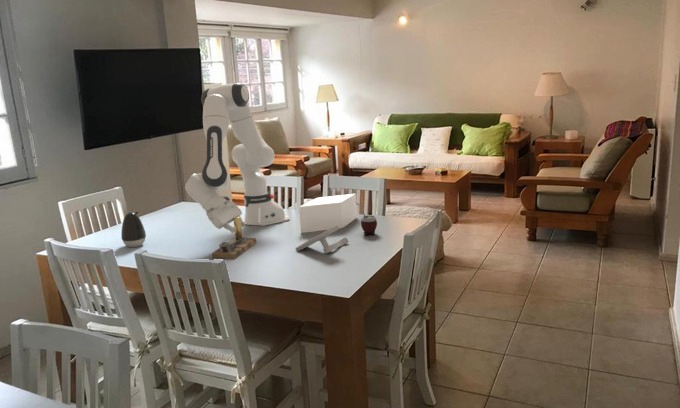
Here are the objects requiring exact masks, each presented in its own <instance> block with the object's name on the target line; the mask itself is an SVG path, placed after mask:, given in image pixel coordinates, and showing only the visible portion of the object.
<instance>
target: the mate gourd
mask: <svg viewBox="0 0 680 408" xmlns="http://www.w3.org/2000/svg"><path fill="white" fill-rule="evenodd" d="M355 203H356V205H358V206H359V208H360V209H361V212H362V214H363V215H362V218H361V221H360V225H361V228H362V230H363V234H364V235H363V236H364V237H367V236H376V233H375V232H376V229H377V226H378V221H377V217H375V216H374V215H371V214H370V215H366V214H365V211H364V209H363V207H362V205H361V204H360V203H358V202H357V201H356V202H355Z"/></svg>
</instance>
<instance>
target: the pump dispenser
mask: <svg viewBox="0 0 680 408" xmlns="http://www.w3.org/2000/svg"><path fill="white" fill-rule="evenodd" d="M138 214H139V211H135V212H132V211H131V212H127V213H126V214H125V215H124V218H123V220H122V226H121V240H122V243H123V244H124V245H125V246H126V247H129V248H137V247H140V246H142V245H143V244H144V243H145V241H146V238H147V233H146V230H145V227H144V224H143V221H142V220H141V219H140V217H139V215H138Z"/></svg>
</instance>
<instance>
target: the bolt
mask: <svg viewBox="0 0 680 408" xmlns="http://www.w3.org/2000/svg"><path fill="white" fill-rule="evenodd" d="M233 219H234V221H233V225H234V226H233V227H234V228H235V229H236V231H235V232H234V238H235V240H233V241H232V242H234V246H235V245H236V244H237V243H239V242H240V241H242V240H243V239H244V238H245V236H244V235H243V230H242V227H241V219H242V217H241V216H240V217H234V218H233Z"/></svg>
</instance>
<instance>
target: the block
mask: <svg viewBox="0 0 680 408" xmlns="http://www.w3.org/2000/svg"><path fill="white" fill-rule="evenodd" d="M355 202H356V203H357V193H349V194H340V195H339V194H338V195H331V196H330V195H329V196H328V195H327V196H320V197H316V198H313V199H312V200H309V201H308V202H306V203H304V204H302V205H300V206H299V207H298V208H299V221H300V222H299V223H300V233H301V234H303V233H312V232H319V231H320V232H321V231H326V230H328V229H330V228H332V227H334V226H337V225H338V227H339V229H343V228H345V227H346V226H347V225H349V224H350V223H351V222H353V221H354V220H356V219H357V218H358V211H357V210H358V209H357V208H358V207H357V204H356V203H355Z"/></svg>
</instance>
